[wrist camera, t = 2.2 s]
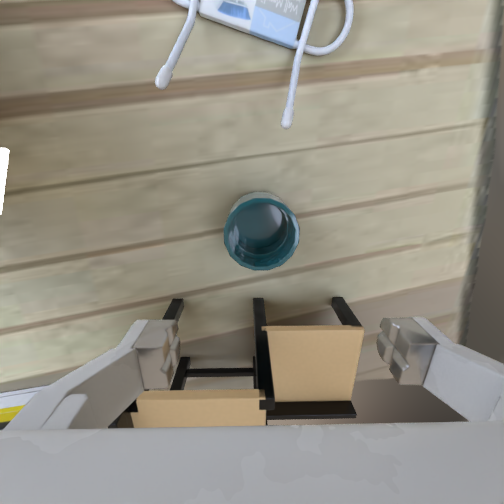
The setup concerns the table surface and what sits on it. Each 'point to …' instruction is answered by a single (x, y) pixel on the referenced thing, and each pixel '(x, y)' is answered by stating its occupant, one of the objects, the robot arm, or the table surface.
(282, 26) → the wall mount rack
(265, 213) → the cup
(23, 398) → the emergency button
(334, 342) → the rack
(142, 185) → the table surface
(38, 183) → the table surface
